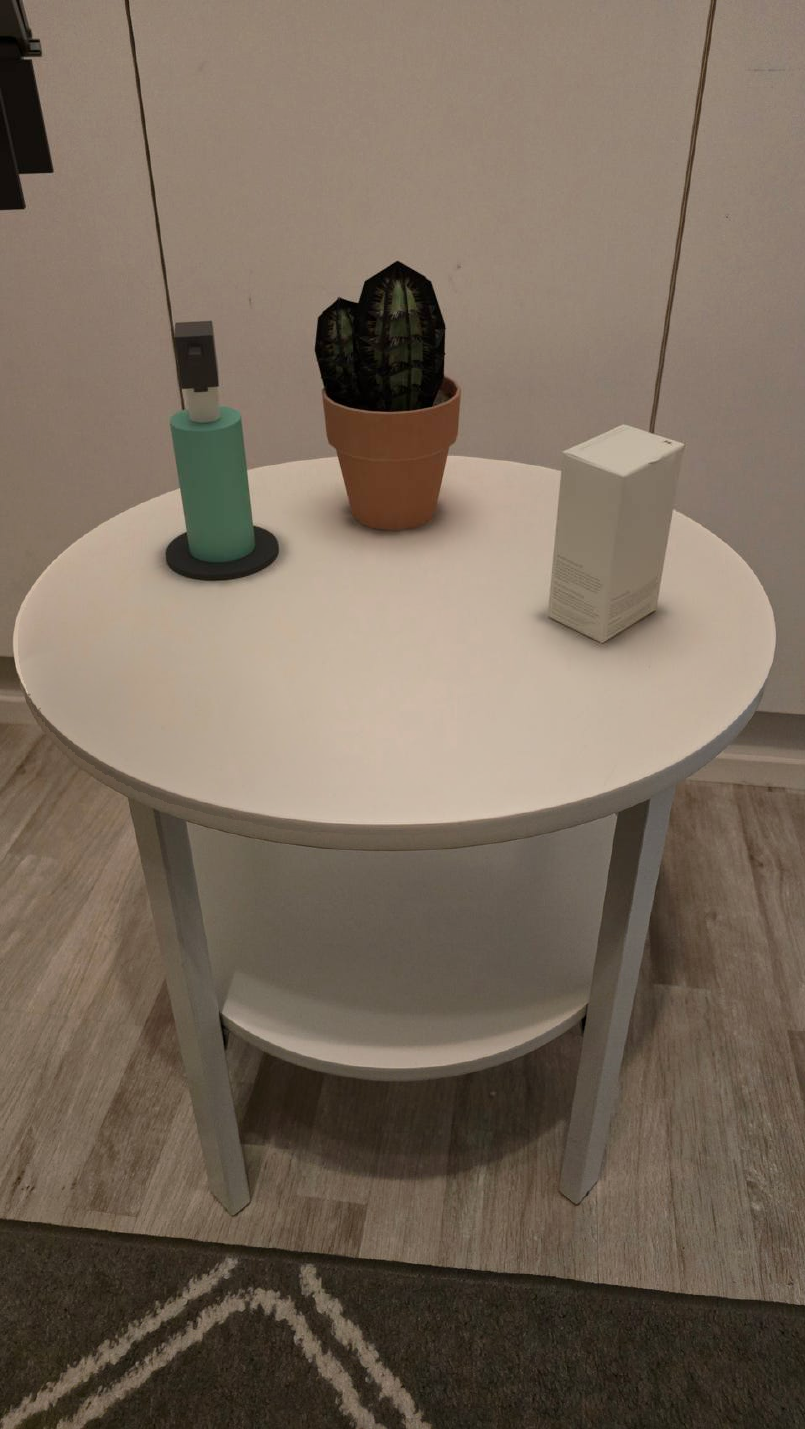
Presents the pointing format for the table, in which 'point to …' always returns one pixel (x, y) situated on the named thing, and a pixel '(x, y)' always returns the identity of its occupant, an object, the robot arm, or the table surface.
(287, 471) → the table surface
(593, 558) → the cosmetic box
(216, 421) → the spray bottle
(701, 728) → the table surface
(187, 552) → the black round coaster
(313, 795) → the table surface
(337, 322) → the potted plant
